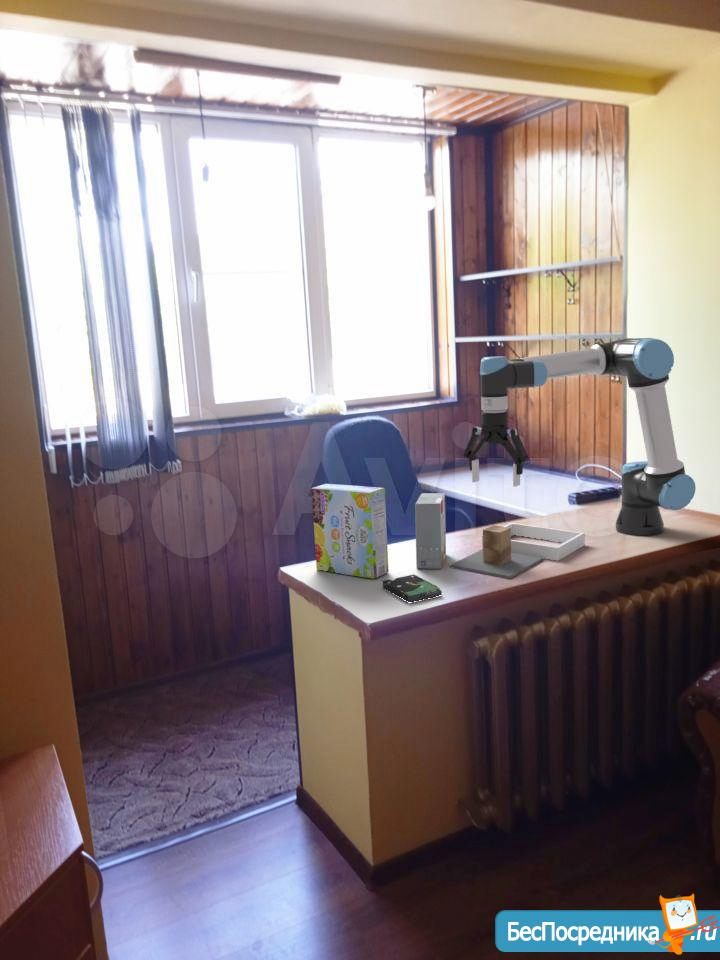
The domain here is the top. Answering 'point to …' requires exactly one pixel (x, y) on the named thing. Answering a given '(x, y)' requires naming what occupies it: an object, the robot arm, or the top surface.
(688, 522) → the top surface
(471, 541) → the top surface
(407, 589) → the disk drive
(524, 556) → the mat
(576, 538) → the bin
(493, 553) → the walnut block
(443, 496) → the hard drive box
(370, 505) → the snack box
